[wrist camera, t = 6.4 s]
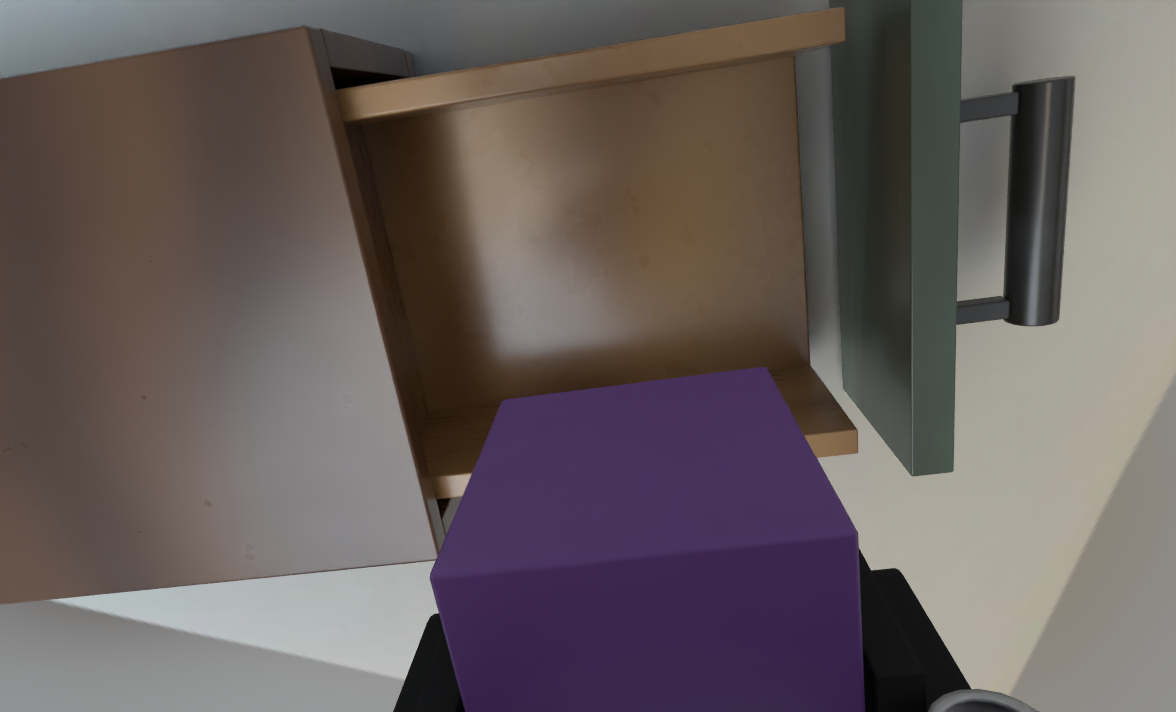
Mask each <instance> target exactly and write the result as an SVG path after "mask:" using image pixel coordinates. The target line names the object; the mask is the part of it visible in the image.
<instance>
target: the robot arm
mask: <svg viewBox="0 0 1176 712" xmlns="http://www.w3.org/2000/svg"><path fill="white" fill-rule="evenodd" d="M859 570H860V595H861V620H862V646H863V671H864V696H865V712H1039V711H1037V710H1035V709H1034V708H1032V707H1030V706H1029V705H1027V704H1025V703H1024V702H1022V701H1020V700H1018V699H1015V698H1013V697H1010V696H1007V695H1005V694H1002V693H999V692H993V691H987V690H981V689H971V688H970V686H969V684H968V683H967V681H966V679H965V678H964V676H963V674H962V673H961V671H960V669H959V668H958V666H957V664H956V663H955V661H954V659H953V658H952V656H951V654H950V653H949V651H948V649H947V648H946V646H945V644H944V643H943V641H942V639H941V638H940V636H939V634H938V633H937V631H936V629H935V628H934V626H933V624H932V623H931V621H930V619H929V618H928V616H927V614H926V613H925V611H924V609H923V608H922V606H921V604H920V603H919V601H918V599H917V598H916V596H915V594H914V593H913V591H912V589H911V588H910V586H909V584H908V583H907V581H906V579H905V578H904V576H903V575H902V573H901V572H900V571H899V570H898V569H896V568H892V569H882V570H872V571H871V570H870V568H869V566H868V564H867V562H866V560H865V558H864V557H863V555H862V553H861V551H860V549H859ZM393 712H465V709H464V705H463V701H462V698H461V694H460V690H459V686H458V683H457V679H456V675H455V671H454V668H453V664H452V660H451V656H450V652H449V649H448V645H447V641H446V637H445V634H444V630H443V626H442V622H441V619H440V615H439V614H434V615H432V616H431V617H430V619H429V621H428V622H427V625H426V627H425V630H424V633H423V635H422V638H421V640H420V643H419V646H418V648H417V651H416V653H415V656H414V659H413V661H412V664H411V667H410V669H409V672H408V674H407V677H406V680H405V683H404V685H403V687H402V690H401V693H400V695H399V698H398V701H397V703H396V706H395V708H394V711H393Z"/></svg>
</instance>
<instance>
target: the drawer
mask: <svg viewBox="0 0 1176 712" xmlns="http://www.w3.org/2000/svg"><path fill="white" fill-rule="evenodd" d="M829 7H830V9H825V10H819V11H813V12H806V13H800V14H794V15H788V16H782V17H776V18H770V19H764V20H758V21H752V22H746V23H740V24H733V25H727V26H721V27H715V28H709V29H703V30H697V31H691V32H685V33H679V34H673V35H667V36H660V37H654V38H648V39H642V40H636V41H630V42H624V43H618V44H612V45H606V46H600V47H594V48H587V49H581V50H575V51H569V52H563V53H557V54H551V55H545V56H539V57H533V58H527V59H521V60H514V61H508V62H502V63H496V64H490V65H484V66H478V67H472V68H466V69H460V70H454V71H448V72H441V73H435V74H429V75H423V76H417V77H411V78H405V79H399V80H393V81H387V82H381V83H374V84H368V85H362V86H356V87H350V88H344V89H338V90H336V94H337V98H338V102H339V107H340V111H341V115H342V119H343V123H344V127H345V131H346V135H347V139H348V143H349V147H350V151H351V155H352V159H353V164H354V168H355V172H356V176H357V180H358V184H359V188H360V192H361V196H362V200H363V204H364V208H365V212H366V216H367V220H368V225H369V229H370V233H371V237H372V241H373V245H374V249H375V253H376V257H377V261H378V265H379V269H380V273H381V277H382V281H383V286H384V290H385V294H386V298H387V302H388V306H389V310H390V314H391V318H392V322H393V326H394V330H395V334H396V338H397V342H398V347H399V351H400V355H401V359H402V363H403V367H404V371H405V375H406V379H407V383H408V387H409V391H410V395H411V399H412V403H413V408H414V412H415V416H416V420H417V424H418V428H419V432H420V436H421V440H422V444H423V448H424V452H425V456H426V460H427V465H428V469H429V473H430V477H431V481H432V485H433V489H434V493H435V497H436V499H443V498H452V497H461V496H463V494H464V491H465V489H466V487H467V484H468V482H469V479H470V477H471V474H472V472H473V470H474V467H475V465H476V462H477V460H478V458H479V455H480V453H481V450H482V448H483V445H484V443H485V441H486V438H487V436H488V433H489V431H490V429H491V426H492V424H493V421H494V419H495V417H496V414H497V412H498V409H499V407H500V404H501V402H502V401H503V400H506V399H514V398H522V397H530V396H537V395H545V394H553V393H561V392H569V391H577V390H585V389H592V388H600V387H608V386H616V385H624V384H632V383H640V382H648V381H655V380H663V379H671V378H679V377H687V376H695V375H703V374H710V373H718V372H726V371H734V370H742V369H750V368H758V367H766V368H767V369H768V371H769V373H770V375H771V377H772V378H773V380H774V382H775V384H776V386H777V387H778V389H779V391H780V393H781V395H782V396H783V398H784V400H785V402H786V404H787V405H788V407H789V409H790V411H791V413H792V414H793V416H794V418H795V420H796V422H797V424H798V425H799V427H800V429H801V431H802V433H803V434H804V436H805V438H806V440H807V442H808V443H809V445H810V447H811V449H812V451H813V452H814V454H815V456H816V458H819V457H828V456H837V455H846V454H855V453H858V430H857V429H856V427H855V426H854V424H853V423H852V422H851V420H850V419H849V418H848V416H847V415H846V413H845V412H844V411H843V409H842V408H841V407H840V405H839V404H838V402H837V401H836V400H835V398H834V397H833V395H832V394H831V393H830V391H829V390H828V389H827V387H826V386H825V384H824V383H823V382H822V380H821V379H820V378H819V376H818V375H817V373H816V372H815V371H814V369H813V368H812V367H811V366H810V349H809V330H808V310H807V290H806V270H805V250H804V231H803V211H802V191H801V171H800V151H799V132H798V112H797V92H796V72H795V56H797V55H801V54H804V53H808V52H811V51H815V50H818V49H822V48H825V47H829V46H831V64H832V93H833V121H834V149H835V178H836V206H837V235H838V263H839V291H840V320H841V348H842V377H843V389H844V390H845V392H846V393H847V394H848V395H849V397H850V398H851V399H852V401H853V402H854V403H855V404H856V406H857V407H858V408H859V409H860V411H861V412H862V413H863V415H864V416H865V417H866V418H867V420H868V421H869V422H870V424H871V425H872V426H873V427H874V429H875V430H876V431H877V433H878V434H879V435H880V436H881V438H882V439H883V440H884V441H885V443H886V444H887V445H888V447H889V448H890V449H891V450H892V452H893V453H894V454H895V456H896V457H897V458H898V459H899V461H900V462H901V463H902V464H903V466H904V467H905V468H906V470H907V471H908V472H909V473H910V475H911V476H920V475H929V474H939V473H948V472H953V465H954V413H955V361H956V325H958V324H966V323H975V322H983V321H991V320H999V319H1003V320H1004V321H1005V322H1007V323H1010V324H1014V325H1020V326H1044V325H1050V324H1053V323H1055V322H1057V321H1058V320H1059V315H1060V301H1061V286H1062V271H1063V256H1064V241H1065V226H1066V212H1067V197H1068V182H1069V167H1070V152H1071V137H1072V123H1073V108H1074V93H1075V76H1064V77H1054V78H1046V79H1039V80H1032V81H1025V82H1019V83H1015V84H1013V85H1012V92H1007V93H1000V94H993V95H987V96H980V97H974V98H967V99H961V48H962V0H829ZM1009 115H1011V120H1010V145H1009V169H1008V194H1007V218H1006V243H1005V267H1004V292H1003V297H1002V296H996V297H989V298H981V299H973V300H965V301H957V256H958V204H959V152H960V123H962V122H969V121H975V120H982V119H989V118H996V117H1002V116H1009Z"/></svg>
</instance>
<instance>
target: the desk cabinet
mask: <svg viewBox="0 0 1176 712" xmlns="http://www.w3.org/2000/svg"><path fill="white" fill-rule="evenodd" d="M411 77H416V75H415V70H414V65H413V60H412V56H411V53H410V52H408V51H404V50H403V49H399V48H395V47H391V46H387V45H383V44H379V43H375V42H371V41H367V40H363V39H360V38H356V37H352V36H348V35H344V34H340V33H336V32H332V31H328V30H324V29H317V28H313V27H309V26H305V25H302V26H297V27H291V28H285V29H279V30H273V31H268V32H262V33H256V34H250V35H245V36H239V37H233V38H227V39H222V40H216V41H210V42H204V43H199V44H193V45H187V46H181V47H176V48H170V49H164V50H158V51H152V52H147V53H141V54H135V55H129V56H124V57H118V58H112V59H106V60H101V61H95V62H89V63H83V64H78V65H72V66H66V67H60V68H55V69H49V70H43V71H37V72H32V73H26V74H20V75H14V76H8V77H3V78H0V604H11V603H20V602H29V601H40V600H50V599H60V598H70V597H80V596H90V595H99V594H109V593H119V592H129V591H139V590H149V589H159V588H169V587H178V586H188V585H198V584H208V583H218V582H228V581H238V580H248V579H258V578H267V577H277V576H287V575H297V574H307V573H317V572H327V571H337V570H346V569H356V568H366V567H376V566H386V565H396V564H406V563H416V562H425V561H435V560H436V559H437V556H438V554H439V552H440V549H441V547H442V544H443V542H444V540H445V537H446V535H447V532H448V530H449V528H450V525H451V523H452V520H453V518H454V515H455V513H456V511H457V508H458V506H459V503H460V501H461V499H462V496H461V497H452V498H443V499H436V497H435V493H434V489H433V485H432V481H431V477H430V473H429V469H428V465H427V460H426V456H425V452H424V448H423V444H422V440H421V436H420V432H419V428H418V424H417V420H416V416H415V412H414V408H413V403H412V399H411V395H410V391H409V387H408V383H407V379H406V375H405V371H404V367H403V363H402V359H401V355H400V351H399V347H398V342H397V338H396V334H395V330H394V326H393V322H392V318H391V314H390V310H389V306H388V302H387V298H386V294H385V290H384V286H383V281H382V277H381V273H380V269H379V265H378V261H377V257H376V253H375V249H374V245H373V241H372V237H371V233H370V229H369V225H368V220H367V216H366V212H365V208H364V204H363V200H362V196H361V192H360V188H359V184H358V180H357V176H356V172H355V168H354V164H353V159H352V155H351V151H350V147H349V143H348V139H347V135H346V131H345V127H344V123H343V119H342V115H341V111H340V107H339V102H338V98H337V94H336V90H338V89H344V88H350V87H356V86H362V85H368V84H374V83H381V82H387V81H393V80H399V79H405V78H411Z"/></svg>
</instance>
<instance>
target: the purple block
mask: <svg viewBox="0 0 1176 712" xmlns="http://www.w3.org/2000/svg"><path fill="white" fill-rule="evenodd" d="M430 581H431V585H432V588H433V592H434V596H435V600H436V604H437V607H438V611H439V615H440V619H441V622H442V626H443V630H444V634H445V637H446V641H447V645H448V649H449V652H450V656H451V660H452V664H453V668H454V671H455V675H456V679H457V683H458V686H459V690H460V694H461V698H462V701H463V705H464V709H465V712H865V696H864V671H863V646H862V620H861V595H860V570H859V544H858V532H857V530H856V528H855V526H854V525H853V523H852V521H851V519H850V517H849V516H848V514H847V512H846V510H845V508H844V507H843V505H842V503H841V501H840V499H839V498H838V496H837V494H836V492H835V490H834V489H833V487H832V485H831V483H830V481H829V480H828V478H827V476H826V474H825V472H824V470H823V469H822V467H821V465H820V463H819V461H818V460H817V458H816V456H815V454H814V452H813V451H812V449H811V447H810V445H809V443H808V442H807V440H806V438H805V436H804V434H803V433H802V431H801V429H800V427H799V425H798V424H797V422H796V420H795V418H794V416H793V414H792V413H791V411H790V409H789V407H788V405H787V404H786V402H785V400H784V398H783V396H782V395H781V393H780V391H779V389H778V387H777V386H776V384H775V382H774V380H773V378H772V377H771V375H770V373H769V371H768V369H767V368H766V367H758V368H750V369H742V370H734V371H726V372H718V373H710V374H703V375H695V376H687V377H679V378H671V379H663V380H655V381H648V382H640V383H632V384H624V385H616V386H608V387H600V388H592V389H585V390H577V391H569V392H561V393H553V394H545V395H537V396H530V397H522V398H514V399H506V400H503V401H502V402H501V404H500V407H499V409H498V412H497V414H496V417H495V419H494V421H493V424H492V426H491V429H490V431H489V433H488V436H487V438H486V441H485V443H484V445H483V448H482V450H481V453H480V455H479V458H478V460H477V462H476V465H475V467H474V470H473V472H472V474H471V477H470V479H469V482H468V484H467V487H466V489H465V491H464V494H463V496H462V499H461V501H460V503H459V506H458V508H457V511H456V513H455V515H454V518H453V520H452V523H451V525H450V528H449V530H448V532H447V535H446V537H445V540H444V542H443V544H442V547H441V549H440V552H439V554H438V556H437V559H436V561H435V564H434V566H433V569H432V571H431V573H430Z"/></svg>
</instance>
